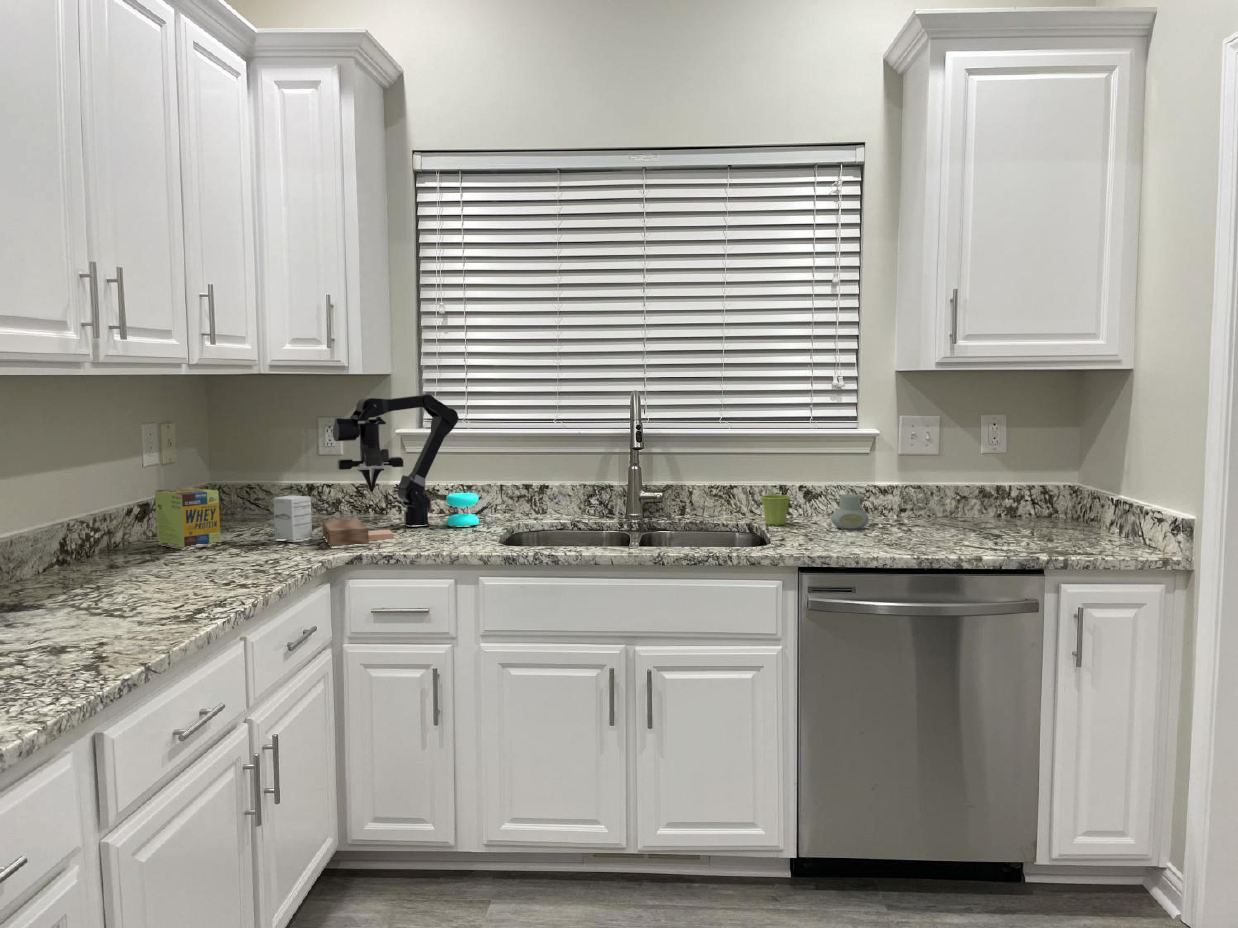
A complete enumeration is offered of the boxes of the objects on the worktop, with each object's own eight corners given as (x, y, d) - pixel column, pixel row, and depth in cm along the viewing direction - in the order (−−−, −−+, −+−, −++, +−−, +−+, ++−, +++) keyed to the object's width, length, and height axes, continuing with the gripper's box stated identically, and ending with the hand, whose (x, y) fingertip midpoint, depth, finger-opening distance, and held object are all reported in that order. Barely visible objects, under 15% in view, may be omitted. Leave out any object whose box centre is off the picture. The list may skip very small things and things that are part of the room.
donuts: (485, 493, 279) (461, 497, 271) (485, 525, 280) (462, 529, 272) (463, 491, 285) (439, 494, 277) (463, 522, 286) (439, 526, 278)
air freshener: (866, 526, 271) (867, 493, 270) (870, 530, 263) (870, 497, 262) (829, 526, 273) (830, 493, 272) (832, 530, 265) (832, 496, 264)
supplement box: (274, 541, 254) (272, 497, 252) (294, 537, 260) (292, 494, 259) (292, 543, 250) (290, 499, 249) (313, 539, 257) (311, 495, 255)
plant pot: (754, 522, 280) (754, 495, 280) (781, 521, 283) (782, 493, 282) (768, 527, 271) (768, 498, 271) (796, 525, 274) (796, 497, 273)
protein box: (184, 551, 240) (181, 494, 238) (156, 545, 249) (153, 490, 248) (222, 545, 248) (219, 490, 247) (193, 540, 257) (191, 486, 256)
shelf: (358, 535, 263) (357, 518, 263) (368, 546, 245) (368, 528, 245) (322, 537, 259) (322, 520, 259) (330, 549, 241) (330, 530, 241)
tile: (389, 539, 258) (389, 529, 258) (393, 544, 251) (393, 533, 250) (335, 543, 252) (335, 533, 252) (337, 548, 245) (337, 537, 245)
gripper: (340, 442, 257) (342, 496, 259) (406, 440, 265) (407, 492, 266) (336, 440, 267) (337, 492, 269) (399, 438, 275) (400, 488, 276)
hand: (371, 491), depth 270 cm, fingers closed
